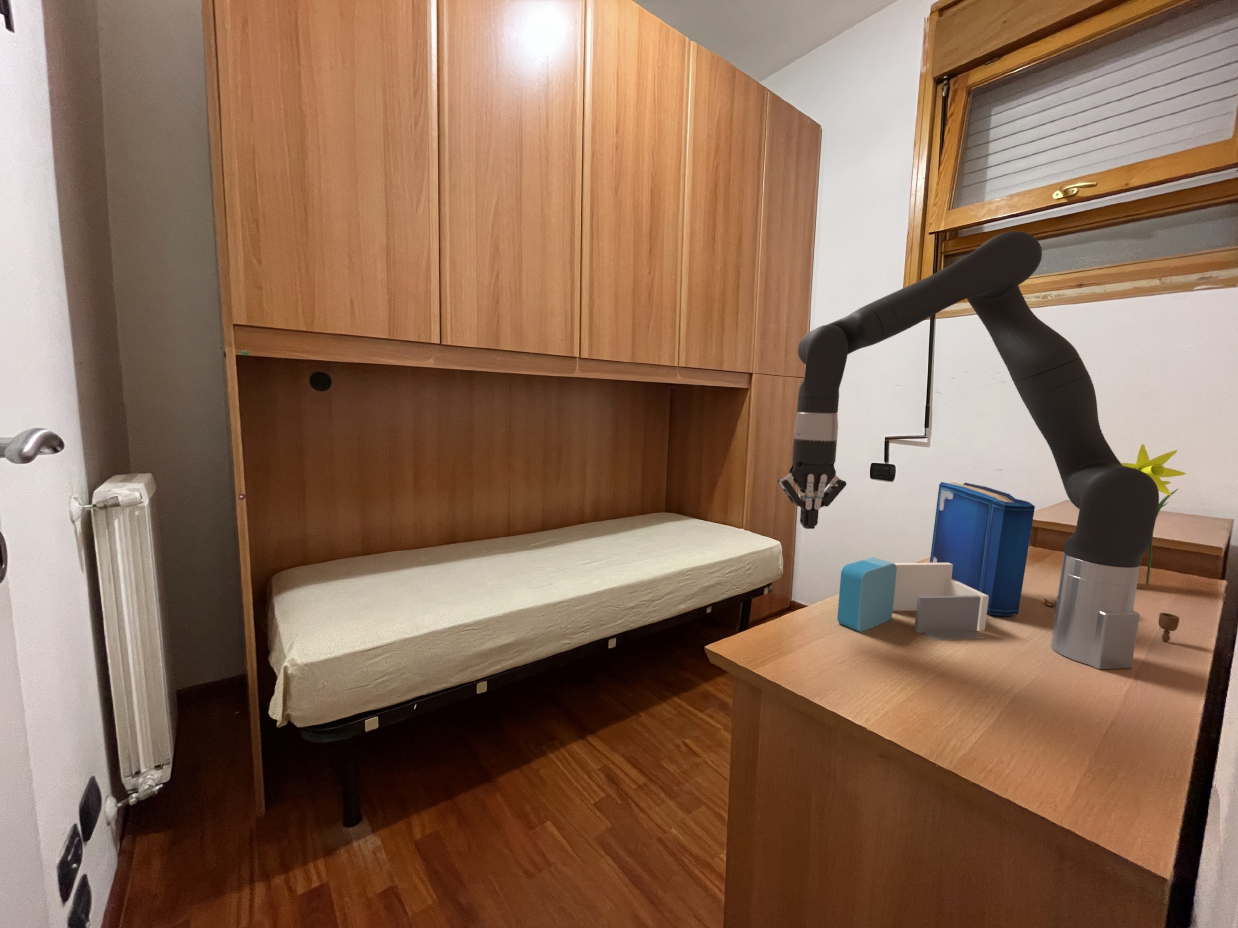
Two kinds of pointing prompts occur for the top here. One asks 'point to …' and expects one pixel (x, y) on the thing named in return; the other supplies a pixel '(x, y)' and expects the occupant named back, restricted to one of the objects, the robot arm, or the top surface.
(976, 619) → the shelf nook
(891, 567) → the data package
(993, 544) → the book
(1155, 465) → the daffodil flowers
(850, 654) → the top surface
